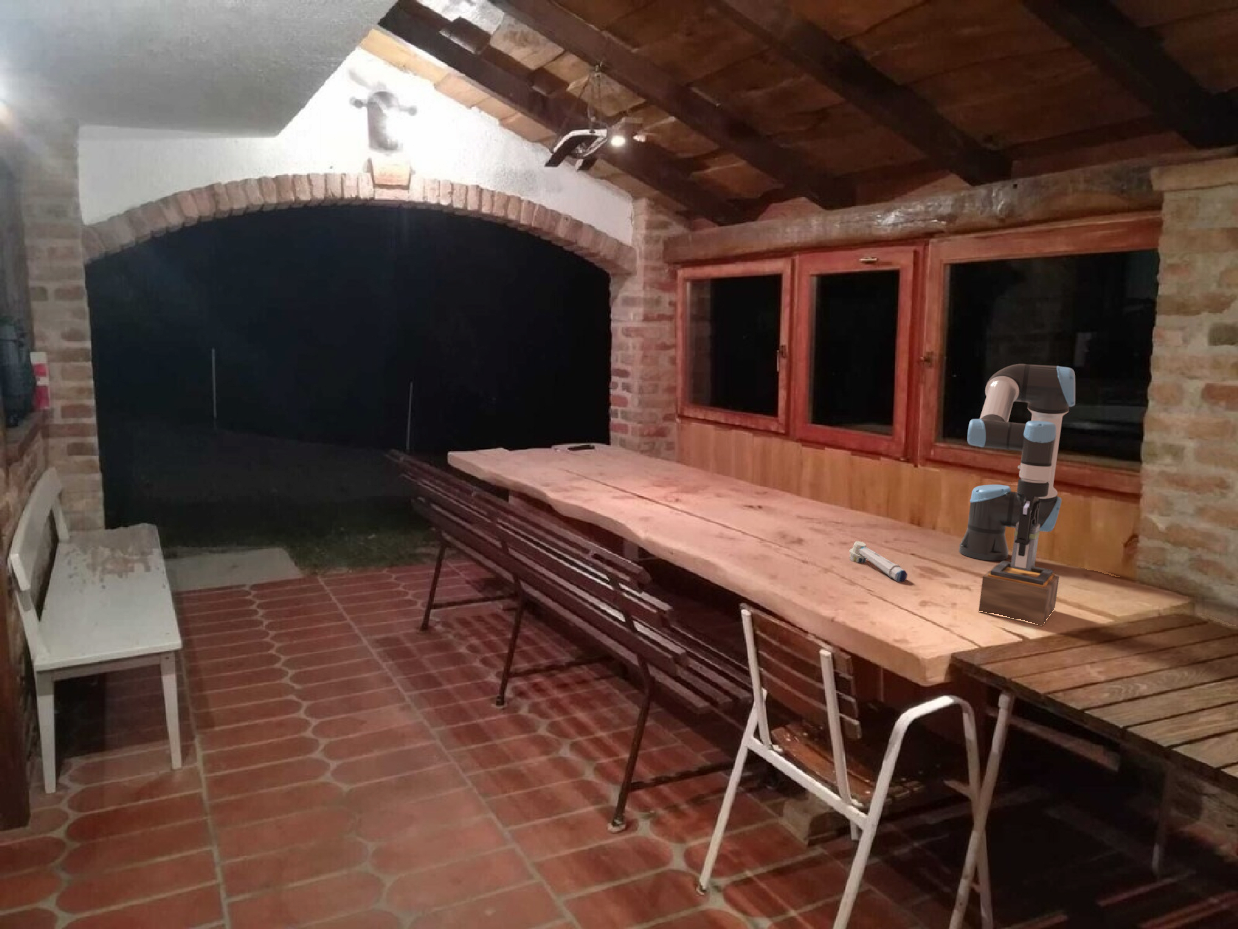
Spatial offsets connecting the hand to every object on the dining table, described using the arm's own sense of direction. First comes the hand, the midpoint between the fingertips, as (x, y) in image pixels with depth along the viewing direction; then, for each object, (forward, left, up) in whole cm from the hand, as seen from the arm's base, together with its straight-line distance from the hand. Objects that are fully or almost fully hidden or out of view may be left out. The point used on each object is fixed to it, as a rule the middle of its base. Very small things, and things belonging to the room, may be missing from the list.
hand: (1022, 564), depth 245 cm
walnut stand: (0, 0, -13) cm, 13 cm away
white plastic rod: (-11, -43, -14) cm, 47 cm away
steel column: (0, 0, -1) cm, 1 cm away
